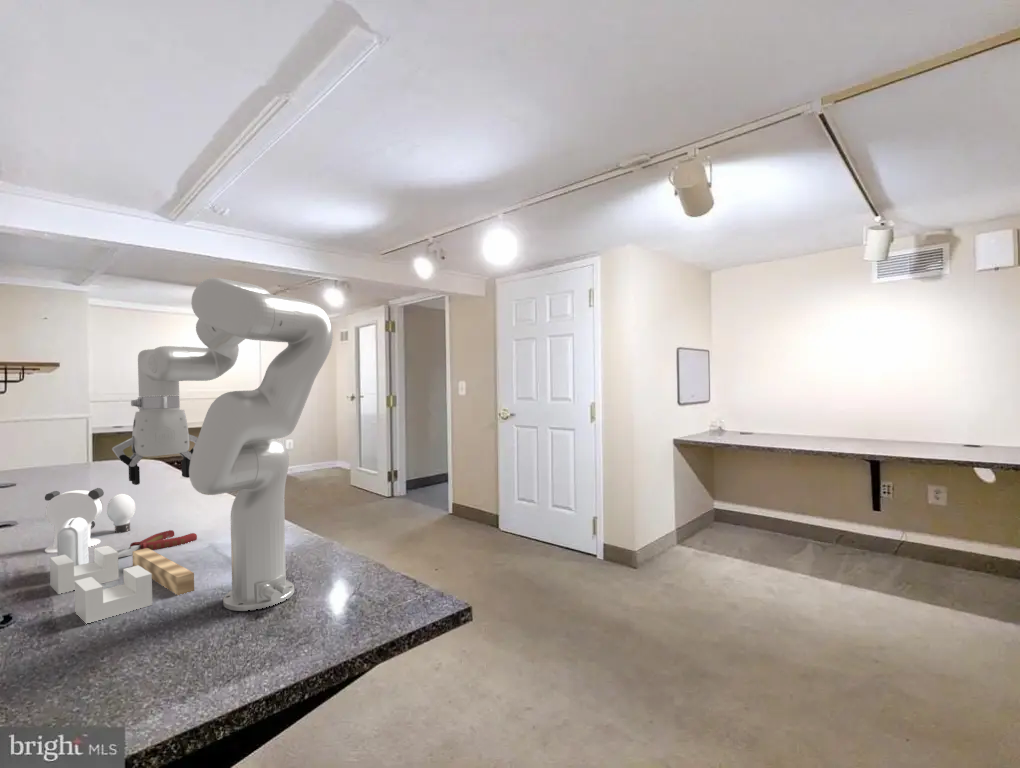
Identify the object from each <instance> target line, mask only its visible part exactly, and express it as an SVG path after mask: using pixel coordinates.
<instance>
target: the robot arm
mask: <svg viewBox="0 0 1020 768" xmlns="http://www.w3.org/2000/svg"><path fill="white" fill-rule="evenodd" d="M191 308H192V312H193V313H194V314H195V316H196V317H197V318H198V319H197V322H196V324H195V331H196V335H197V337H198V339H199V340H200V341H201V343H202V344H204V346H205V347H197V346H196V347H194V346H193V347H192V346H172V345H163V346H158V347H156V348H152V349H149V348H148V349H143V350H141V351H139V353H138V355H137V372H138V373H137V376H138V379H137V380H138V381H137V382H138V397H137V398H136V399H135V400H134V399H133V400H132V399H131V401H130V406H131V407H136V408H137V409H138V411H135V415H134V418H133V425H132V433H131V434H132V435H131V437H130V438H128V439H127V440H124V441H123V442H121V443H118V444H116V445H114V446H113V447H112V448H111V450H112V451H113V453H114V454H115V456H116V457H117V459H118V460H119V461H121V462H122V463H124V464H125V465H126V466H127V467H128V481H129V482H131V484H132V485H134V486H136V485H137V486H138V485H140V484H141V483H140V482H141V479H140V472H141V471H140V465H138V464H139V462H140V461H141V460H142V459H143V458H148V457H157V456H168V455H177V454H179V455H180V456H181V457H183V459H182V460H181V476H182V477H183V478H189V481H190V483H191V486H192V487H193V489H194V490H195V491H196V492H198V493H200V494H202V495H206V496H216V495H223V494H228V493H233V492H236V491H237V494H236V495H235V498H234V500H233V502H232V504H231V510H230V551H231V554H230V555H231V556H230V557H231V560H230V561H231V590H229V591H228V592H227V593H226V594H225V595H224V596H223V597H222V598H223V599H222V601H223V602H222V604H223V607H224V608H225V609H228V610H229V611H235V612H249V611H248V610H250V611H256V609H258V610H263V609H267V608H270V607H273V605H274V606H275V604H276V605H279V604H281V603H283V602H285V601H287V600H289V599H290V598H291V597H292V596H293V594H294V593H295V585H294V583H292V582H291V581H289V580H287V579H286V578H287V575H286V574H287V573H286V572H287V571H286V570H287V566H286V530H285V529H286V526H285V522H286V521H285V519H286V518H285V516H286V515H285V496H286V495H285V493H286V482H287V476H288V471H289V465H290V456H289V451H288V449H287V447H286V445H285V444H284V443H283V442H282V441H280V440H279V439H283V438H286V437H288V436H290V435H291V434H292V433H293V431H294V430H295V429H296V427H297V424H298V423H299V420H300V418H301V416H302V412H303V411H304V408H305V405H306V403H307V400H308V398H309V395H310V392H311V390H312V387H313V384H314V382H315V380H316V378H317V377H318V375H319V373H320V371H321V370H322V367H323V365H324V363H325V362H326V360H327V358H328V356H329V353H330V351H331V348H332V345H333V339H334V337H333V336H334V335H333V326H332V322H331V319H330V317H329V316H328V314H327V312H326V311H325V310H324V309H323V308H322V307H320V306H319V305H317V304H316V303H313V302H311V301H308V300H305V299H300V298H296V297H291V296H285V295H284V296H283V295H277V294H272V293H270V292H269V290H267V289H265V288H264V287H261V286H260V285H257V284H252V283H248V282H242V281H237V280H233V279H232V280H231V279H226V278H222V277H211V278H210V277H209V278H207V279H204V280H203V281H201V282H200V283H199V284H198V285H197V286H196V287H195V289H194V290H193V293H192V295H191ZM245 340H250V341H263V342H277V343H287V346H286V347H285V348H284V349H283V350H282V351H280V352H279V353H278V354H276V356H275V357H274V358H273V359H272V361H271V362H270V363H269V364H268V366H267V368H266V370H265V373H264V376H263V379H262V381H261V383H260V384H259V386H258V387H257V388H256V389H253V390H251V389H250V390H233V391H228V392H225V393H223V394H221V395H220V396H218V397H217V398H215V400H213V402H212V403H211V404H210V405H209V407H208V410H207V412H206V414H205V417H204V420H203V422H202V425H201V429H200V431H199V434H198V436H195V435H192V434H190V433H189V427H188V426H189V425H188V419H187V417H186V416H187V415H186V413H185V409H181V406H180V405H181V404H180V401H181V400H180V382H184V381H185V382H187V381H188V382H190V381H191V382H195V381H196V382H202V381H205V382H207V381H212V380H216V379H217V378H219V377H221V376H223V375H224V374H225V373H226V372H229V370H230V369H232V368H234V365H235V364H236V362H237V360H238V359H237V358H238V356H239V352H240V351H239V345H240V344H241V343H242V342H243V341H245ZM190 442H193V443H194V446H193V447H192V448H191V449H190ZM129 447H131V452H132V454H131V456H130V457H129V456H127V455H126V454H125V452H124V450H125V449H127V448H129ZM286 599H287V600H286ZM280 602H281V603H280ZM278 603H279V604H278ZM269 606H270V607H269ZM266 607H267V608H266ZM262 608H263V609H262Z"/></svg>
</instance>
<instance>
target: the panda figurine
mask: <svg viewBox="0 0 1020 768" xmlns="http://www.w3.org/2000/svg"><path fill="white" fill-rule="evenodd" d="M104 493H105V491H104V490H103V489H102V488H101V487H97V488H96V487H95V488H94V489H91V490H90V491H89V490H86V489H85V490H84V489H82V490H81V489H80V490H79V489H77V490H76V489H75V490H69V491H65V492H63V493H60V491H59V490H54V491H51V492H49V493H46V494H45V496H44V500H45V501H48V503H47V506H46V507H45V518H46V520H47V522H48V523H49V524H50V525H51V526H53V533H54V534H53V535H54V536H53V539H54V540H53V545H50V546H48V547H46V548H45V549H44V552H45V553H46V554H57V534H58V531H59V529H60V527H61V526H62V525H63V524H64V523H65V522H66V521H67V520H69V519H71V518H78V517H80V518H83V519H85V520H86V521H87V523H88V547H90V548H92V547H91V546H93V547H95V546H98V545H99V544H101V542H102V541H101V539H99V538H91V532H92V529H94V528H95V527H96V523H95V520H96V519H97V518H98V517H99V516H100V515H101V513H102V511H103V509H104V508H103V505H104V504H103V502H102V500H101V499H100V498H102V497H103V496H104ZM97 544H98V545H97ZM94 545H95V546H94Z"/></svg>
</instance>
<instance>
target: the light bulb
mask: <svg viewBox="0 0 1020 768" xmlns="http://www.w3.org/2000/svg"><path fill="white" fill-rule="evenodd" d="M135 512H136V502H135V500H134V498H132V496H130V495H128V494H126V493H119V494H118V493H117V494H115V495H114V496H113V497H112V498H111V499H110V500H109V501H108V503H107V506H106V514H107V517H108V519H109V520H110V521H111V522H112V523H113V526H114V532H115V531H116V532H117V533H116V534H119V532H121V533H126V532H128V531H130V530H131V522H130V520H131V519H132V518H133V516H134V514H135Z"/></svg>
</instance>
